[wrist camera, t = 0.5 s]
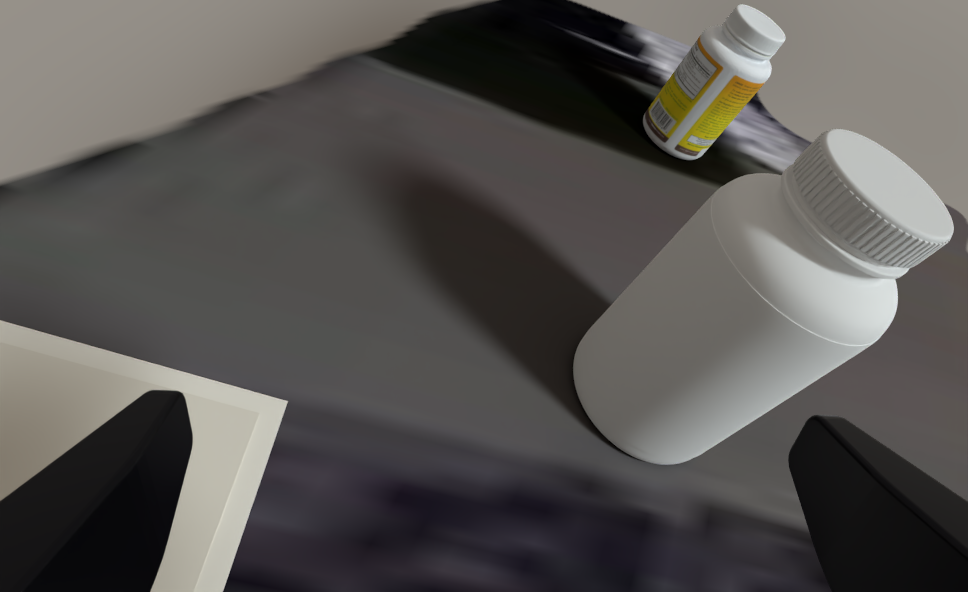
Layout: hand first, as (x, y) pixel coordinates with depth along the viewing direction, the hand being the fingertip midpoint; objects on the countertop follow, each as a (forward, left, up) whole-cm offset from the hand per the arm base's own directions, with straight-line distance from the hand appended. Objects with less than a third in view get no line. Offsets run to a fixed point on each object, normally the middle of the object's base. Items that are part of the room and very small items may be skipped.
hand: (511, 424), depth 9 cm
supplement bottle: (+38, -18, -15) cm, 45 cm away
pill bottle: (+13, -13, -15) cm, 24 cm away
